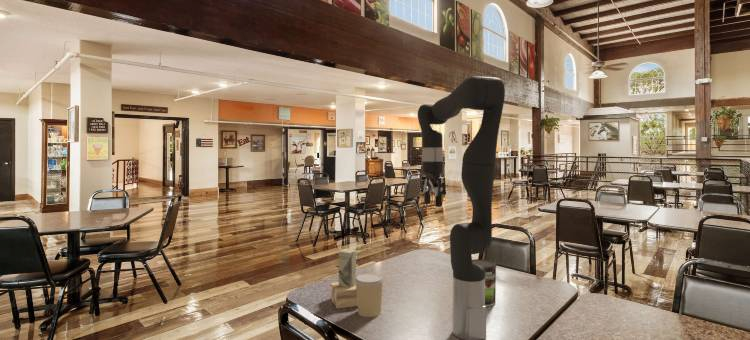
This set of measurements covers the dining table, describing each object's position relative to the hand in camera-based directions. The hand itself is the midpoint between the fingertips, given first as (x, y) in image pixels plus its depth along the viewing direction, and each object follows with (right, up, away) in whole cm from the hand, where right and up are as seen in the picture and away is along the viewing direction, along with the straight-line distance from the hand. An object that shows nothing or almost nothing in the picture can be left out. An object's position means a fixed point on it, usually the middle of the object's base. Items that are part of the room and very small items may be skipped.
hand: (432, 205), depth 137 cm
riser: (-31, -35, +1) cm, 47 cm away
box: (-31, -29, +1) cm, 43 cm away
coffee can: (+18, -35, +1) cm, 39 cm away
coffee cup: (-23, -36, -8) cm, 43 cm away
